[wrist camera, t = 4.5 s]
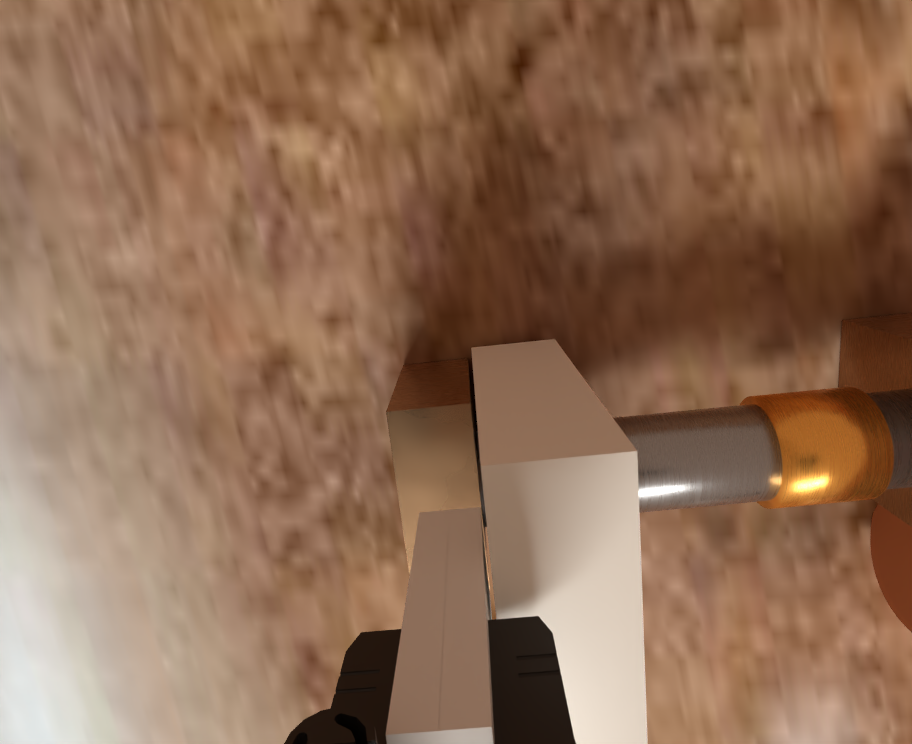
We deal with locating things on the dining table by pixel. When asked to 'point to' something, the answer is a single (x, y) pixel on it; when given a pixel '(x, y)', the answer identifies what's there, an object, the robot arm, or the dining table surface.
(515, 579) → the sleeve
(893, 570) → the crank
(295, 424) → the dining table surface
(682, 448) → the pipe rig
